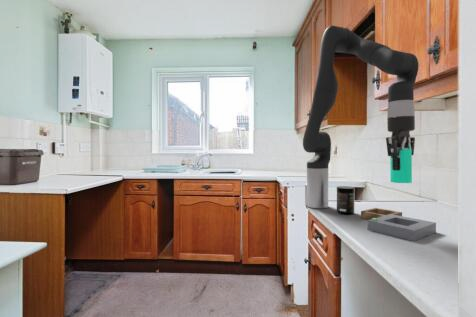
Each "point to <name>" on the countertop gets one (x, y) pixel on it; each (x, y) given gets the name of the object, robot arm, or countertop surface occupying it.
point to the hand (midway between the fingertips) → (401, 169)
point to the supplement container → (345, 200)
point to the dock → (402, 227)
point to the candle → (403, 168)
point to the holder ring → (377, 213)
